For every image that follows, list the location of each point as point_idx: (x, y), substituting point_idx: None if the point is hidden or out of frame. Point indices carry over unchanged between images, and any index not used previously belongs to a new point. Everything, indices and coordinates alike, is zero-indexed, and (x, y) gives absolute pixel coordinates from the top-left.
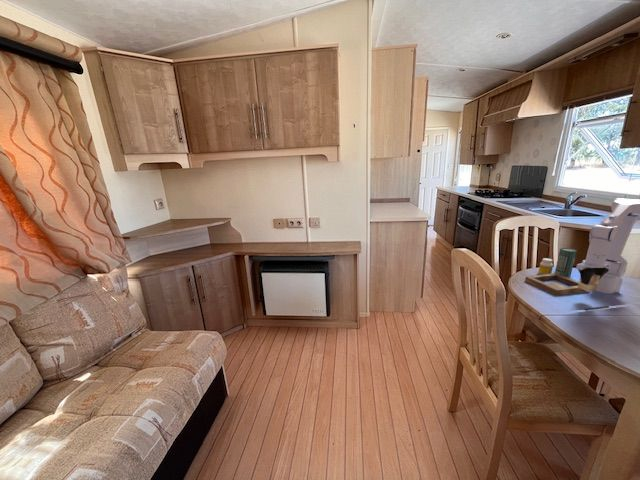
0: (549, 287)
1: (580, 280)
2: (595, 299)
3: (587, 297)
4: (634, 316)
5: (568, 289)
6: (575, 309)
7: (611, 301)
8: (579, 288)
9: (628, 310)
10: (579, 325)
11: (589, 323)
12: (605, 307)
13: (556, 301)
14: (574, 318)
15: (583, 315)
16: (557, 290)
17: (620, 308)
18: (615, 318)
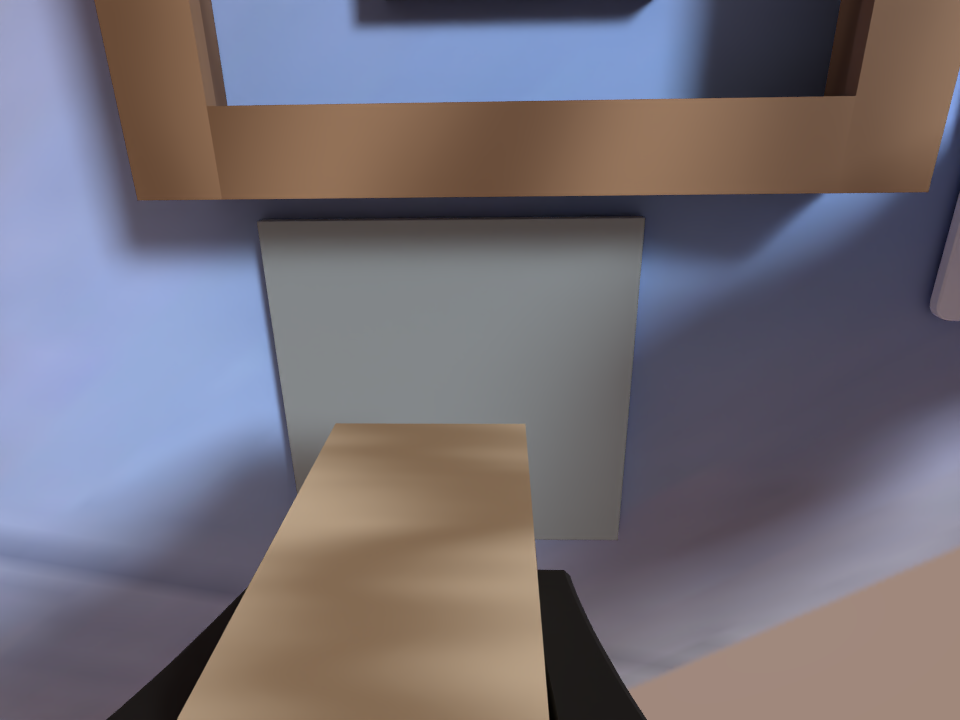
0: (106, 37)
1: (279, 547)
2: (701, 354)
3: (663, 286)
4: (649, 680)
5: (403, 196)
6: (202, 490)
7: (831, 433)
8: (660, 191)
9: (741, 604)
10: (5, 685)
11: (118, 680)
12: (559, 538)
13: (126, 295)
14: (47, 607)
15: (181, 587)
16: (155, 199)
17: (714, 563)
18: None
